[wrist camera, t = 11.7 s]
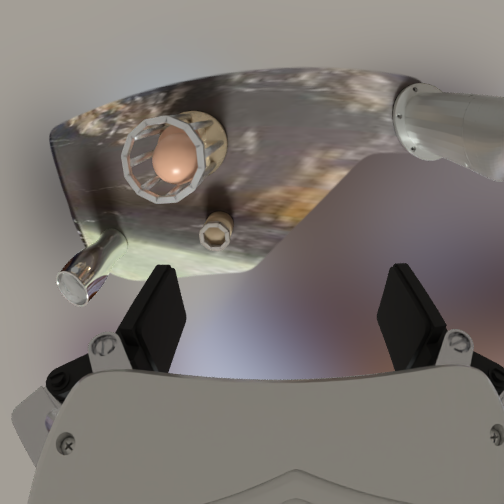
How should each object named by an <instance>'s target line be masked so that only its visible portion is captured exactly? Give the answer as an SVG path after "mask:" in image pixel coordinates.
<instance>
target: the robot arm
mask: <svg viewBox="0 0 504 504" xmlns="http://www.w3.org/2000/svg"><path fill="white" fill-rule="evenodd" d="M413 89H414V91H413ZM397 115H398V117H397ZM393 124H394V128H395V132H396V134H397V137H398V139H399V141H400V142H401V144H402V145H403V147H404V148H405V149H406V150H407V151H408V152H409V153H411V154H412V155H414V156H416V157H418V158H420V159H423V160H428V161H432V160H437V159H440V158H442V157H443V158H445V159H448V160H450V161H452V162H455V163H457V164H459V165H461V166H464V167H466V168H468V169H470V170H473V171H474V172H476V173H478V174H481V175H483V176H485V177H487V178H489V179H491V180H494V181H504V97H498V96H488V95H477V94H464V93H443V92H442V91H441V90H439V89H438V88H436V87H435V86H432V85H430V84H425V83H417V84H412V85H410V86H407V87H406V88H405V89H403V90H402V91H401V92H400V94H399V95H398V97H397V99H396V101H395V104H394V108H393ZM411 148H412V149H411ZM377 321H378V324H379V326H380V329H381V332H382V334H383V337H384V340H385V343H386V346H387V348H388V351H389V354H390V357H391V360H392V363H393V366H394V369H395V371H393V372H385V373H378V374H370V375H360V376H351V377H350V376H349V377H337V378H321V379H297V380H296V379H295V380H258V379H257V380H256V379H230V378H214V377H202V376H192V375H181V374H172V373H168V372H169V369H170V366H171V363H172V360H173V357H174V354H175V351H176V348H177V345H178V342H179V340H180V337H181V334H182V331H183V328H184V326H185V323H186V312H185V309H184V305H183V300H182V296H181V293H180V288H179V284H178V280H177V276H176V271H175V269H174V268H171V266H170V265H157V266H156V267H155V268H154V270H153V272H152V273H151V275H150V276H149V278H148V279H147V281H146V283H145V284H144V286H143V287H142V289H141V291H140V292H139V294H138V295H137V297H136V298H135V300H134V302H133V304H132V305H131V307H130V308H129V310H128V312H127V314H126V315H125V317H124V319H123V321H122V322H121V324H120V326H119V327H118V329H117V331H116V333H113V332H103V333H100V334H98V335H96V336H95V337H94V338H93V339H92V340H91V341H90V343H89V345H88V354H86V355H84V356H81V357H79V358H77V359H75V360H73V361H71V362H69V363H67V364H65V365H62V366H60V367H58V368H56V369H54V370H53V371H52V372H51V373H50V374H49V376H48V377H47V380H46V387H44V388H43V387H42V386H41V387H40V388H38V389H37V390H36V391H35V392H34V393H32V394H31V395H30V396H29V397H27V398H26V399H25V400H24V401H23V402H21V403H20V404H19V405H18V406H17V407H16V408H15V409H14V410H13V413H12V423H13V425H14V427H15V429H16V431H17V434H18V436H19V438H20V440H21V442H22V444H23V445H24V447H25V449H26V451H27V453H28V455H29V456H30V458H31V460H32V462H33V463H34V465H35V467H36V471H35V475H34V479H33V482H32V486H31V491H30V495H29V499H28V504H504V368H503V367H502V366H500V365H499V364H497V363H495V362H493V361H491V360H489V359H487V358H486V357H483V356H481V355H480V354H478V353H476V352H474V351H473V348H474V344H473V341H472V339H471V338H470V336H469V335H468V334H467V333H465V332H464V331H462V330H458V329H452V330H449V331H447V329H446V323H445V321H444V320H443V318H442V316H441V315H440V313H439V311H438V310H437V308H436V306H435V305H434V304H433V302H432V300H431V299H430V297H429V295H428V294H427V292H426V291H425V289H424V288H423V286H422V285H421V283H420V281H419V280H418V279H417V277H416V276H415V274H414V273H413V271H412V270H411V268H410V267H409V265H408V264H406V263H400V264H394V265H393V267H391V268H390V270H389V273H388V278H387V281H386V285H385V289H384V292H383V296H382V299H381V303H380V307H379V309H378V313H377Z"/></svg>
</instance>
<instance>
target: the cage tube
mask: <svg viewBox="0 0 504 504" xmlns="http://www.w3.org/2000/svg"><path fill="white" fill-rule="evenodd" d="M164 123H166V124H165V126H161V127H156V128H151V129H147V130H145V129H146V128H147V127H148V126H149V125H153V124H164ZM170 125H173V126H176V127H178V128H180V129H183V130H184V131H185V132H186V134H187V135H188V136H189V138H190V139H191V141H192V142H193V143H194V145H195V146H196V152H197V162H198V169H197V171H196V173H195V175H194V177H193V180H191V181H189V182H187V183H184V184H178V185H176V186H175V187H174V188H173V189H172V190H171V191H170V192H169V193H167V194H166V195H162V196H159V195H157V194H154V193H152V192H150V191H148V189H150V188H151V187H152V186H154V185H155V184H156V183H158V182H159V181H161V180H162V179H161V178H160V177H159V176H158V175H156V176H155V177H153V178H152V179H150V180H148V181H147V182H145V183H144V184H143V185H140V183H139V182H138V181H137V179H136V178H135V176H134V175H133V174H132V168H131V167H133V166H135V165H137V164H139V163H141V162H143V161H145V160H147V159H149V158H152V157H153V153H154V150H155V149H154V150H152V151H149V152H147V153H144V154H142V155H140V156H137V157H135V158H133V159H131V160H130V152H131V149H132V146H133V143H134V140H138V139H141V138H144V137H148V136H151V135H155V134H159V133H160V135H161V133H162V132H163V131H164V130H165V129H166V128H167V127H169V126H170ZM195 130H197V131H198V132H199V134H200V136H201V138H200V137H199V135H198V134H197V133H196V131H195ZM159 137H160V136H159ZM227 147H228V141H227V136H226V132H225V130H224V128H223V126H222V125H221V124H220V122H219V121H218V120H217V119H216V118H214V117H213V116H211V115H209V114H207V113H204V112H200V111H187V112H183V113H180V114H177V115H166V116H158V117H156V118H151V119H145V120H144V121H143V122H141V123H140V124H139V125H138V126H137V127H136V128H135V129H134V130H133V131H131V132H130V133H129V134H128V136H127V139H126V142H125V145H124V148H123V151H122V154H121V158H122V165H123V171H124V177H125V178H126V180H127V181H128V183H129V184H130V185H131V187H132V188H133V189H134V191H135V192H136V193H137V194H138V195H139V196H141V197H143V198H145V199H147V200H150V201H152V202H154V203H156V204H160V203H175V202H178V201H180V200H181V199H183V198H184V197H186V196H187V195H188V194H190V193H191V192H193V191H194V190H195V189H196V188H197V187H198V185H199V184H200V183H201V182H202V181H203V180H204V179H205V178H206V177H207V176H208V175H210V174H212V173H213V172H214V171H215V170H216V169H217V168H218V167H219V166H220V165H221V164H222V162H223V160H224V158H225V156H226V153H227ZM188 184H189V186H188V187H186V186H187V185H188ZM185 187H186V188H185ZM184 188H185V189H184ZM182 189H184V190H182ZM181 190H182V191H181ZM180 191H181V192H180Z"/></svg>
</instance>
